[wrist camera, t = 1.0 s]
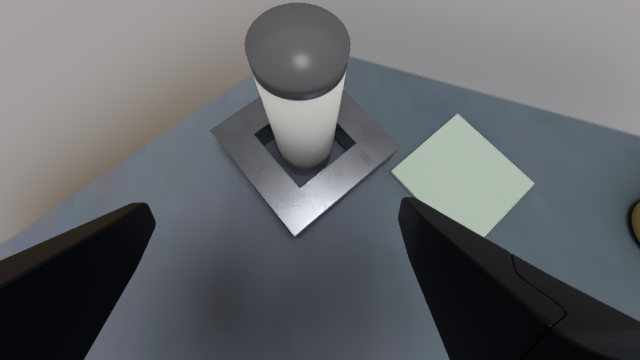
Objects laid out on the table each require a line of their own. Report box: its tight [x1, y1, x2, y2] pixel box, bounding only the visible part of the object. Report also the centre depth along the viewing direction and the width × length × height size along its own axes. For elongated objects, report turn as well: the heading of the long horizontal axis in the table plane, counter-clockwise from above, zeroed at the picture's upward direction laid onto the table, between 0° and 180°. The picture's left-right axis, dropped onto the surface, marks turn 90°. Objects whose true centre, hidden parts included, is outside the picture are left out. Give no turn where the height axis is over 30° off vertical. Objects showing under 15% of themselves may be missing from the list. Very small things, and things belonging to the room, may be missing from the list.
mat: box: [390, 114, 535, 237], centre depth 24 cm, size 10×10×1 cm
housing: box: [210, 90, 400, 238], centre depth 23 cm, size 12×12×3 cm
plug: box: [245, 3, 350, 176], centre depth 18 cm, size 5×5×13 cm
